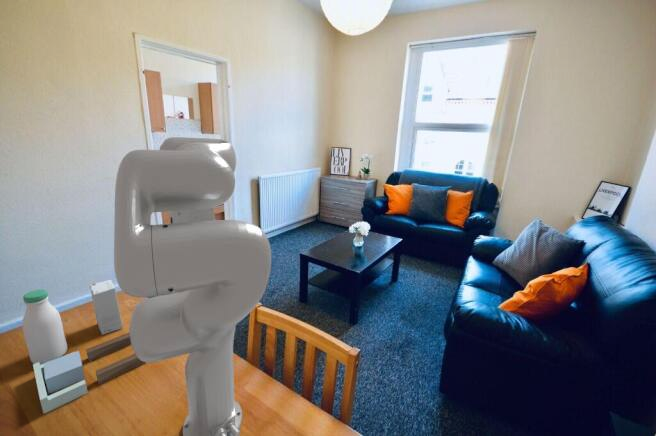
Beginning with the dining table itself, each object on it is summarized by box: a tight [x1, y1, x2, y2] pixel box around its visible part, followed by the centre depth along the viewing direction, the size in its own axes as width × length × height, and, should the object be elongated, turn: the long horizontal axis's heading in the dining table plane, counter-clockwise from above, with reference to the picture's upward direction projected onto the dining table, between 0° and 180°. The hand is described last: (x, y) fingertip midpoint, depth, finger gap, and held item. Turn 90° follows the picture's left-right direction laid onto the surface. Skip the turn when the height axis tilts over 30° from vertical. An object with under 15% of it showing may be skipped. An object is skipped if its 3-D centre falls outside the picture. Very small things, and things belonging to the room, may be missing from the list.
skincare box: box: [89, 279, 124, 336], centre depth 95 cm, size 8×6×15 cm
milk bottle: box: [21, 289, 68, 365], centre depth 81 cm, size 8×8×20 cm
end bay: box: [32, 351, 89, 415], centre depth 74 cm, size 15×8×4 cm, turn 48°
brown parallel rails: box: [85, 331, 147, 385], centre depth 83 cm, size 13×11×3 cm
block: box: [44, 350, 86, 394], centre depth 76 cm, size 7×7×4 cm
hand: (195, 256), depth 78 cm, fingers closed
